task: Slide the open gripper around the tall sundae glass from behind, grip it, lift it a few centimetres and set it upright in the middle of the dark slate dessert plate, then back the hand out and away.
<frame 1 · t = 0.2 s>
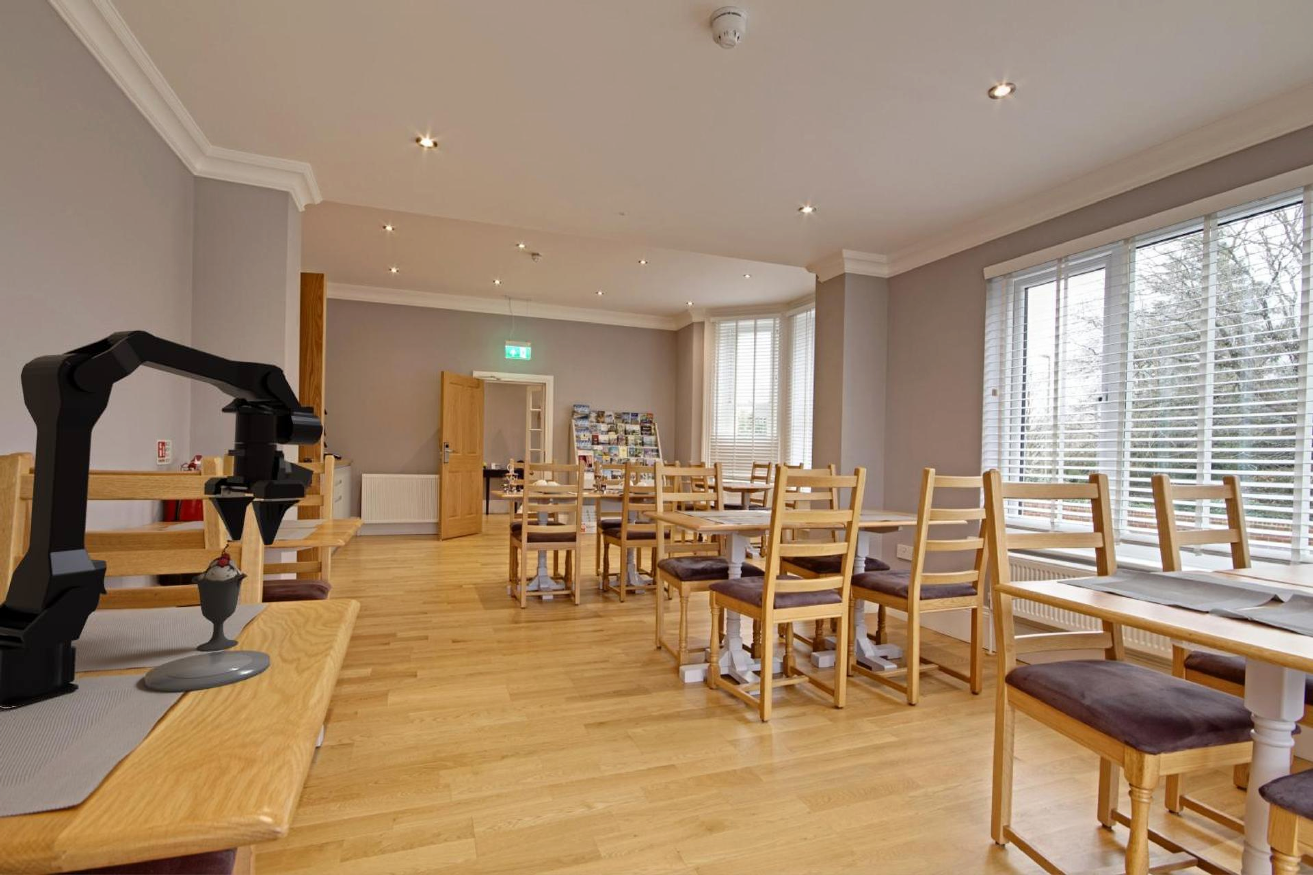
hand: (252, 542, 98), 14 cm above the table, fingers open, 9 cm apart
slate plate: (210, 672, 80), on the table
sundae: (218, 647, 90), on the table
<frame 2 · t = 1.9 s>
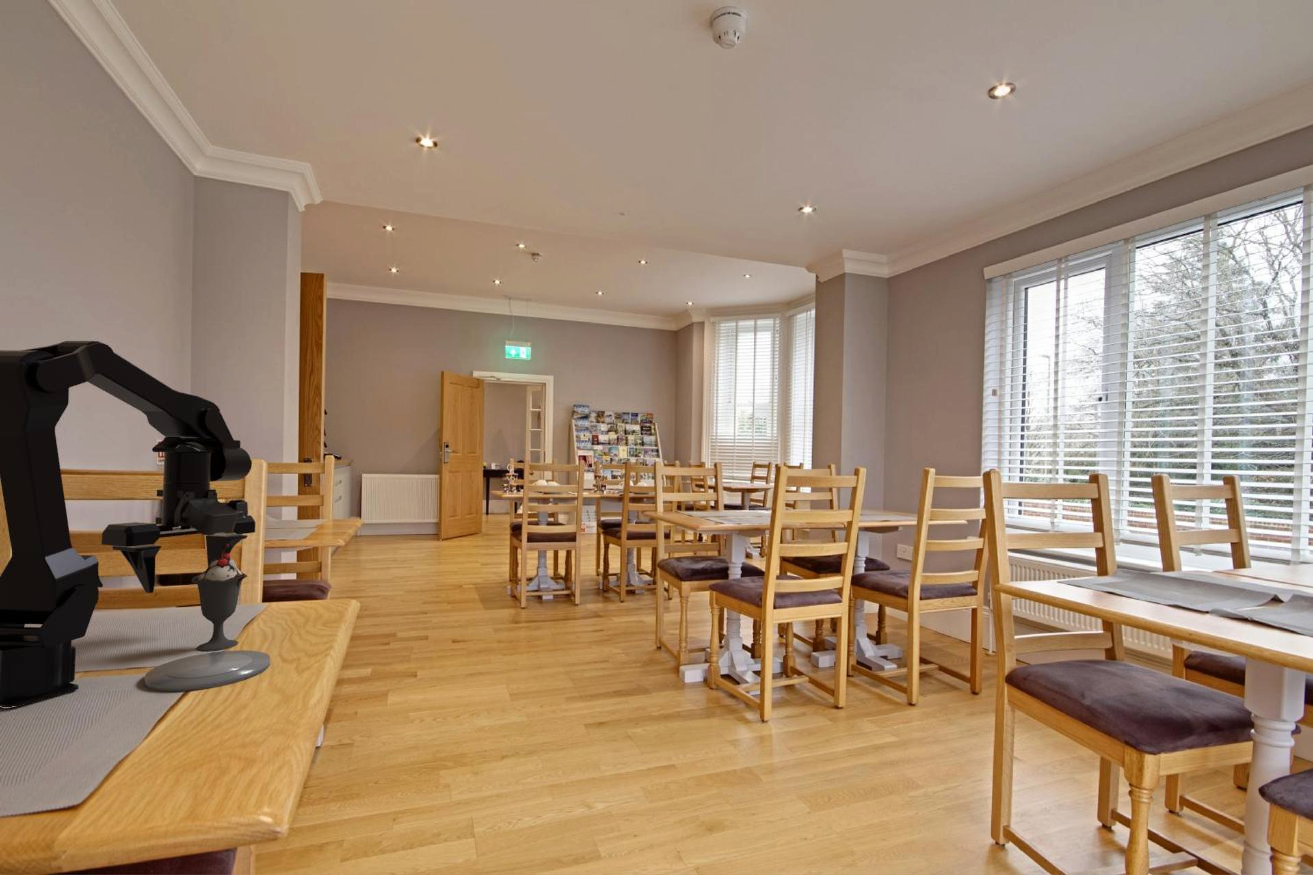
hand: (183, 586, 93), 8 cm above the table, fingers open, 9 cm apart
nothing on the table moved.
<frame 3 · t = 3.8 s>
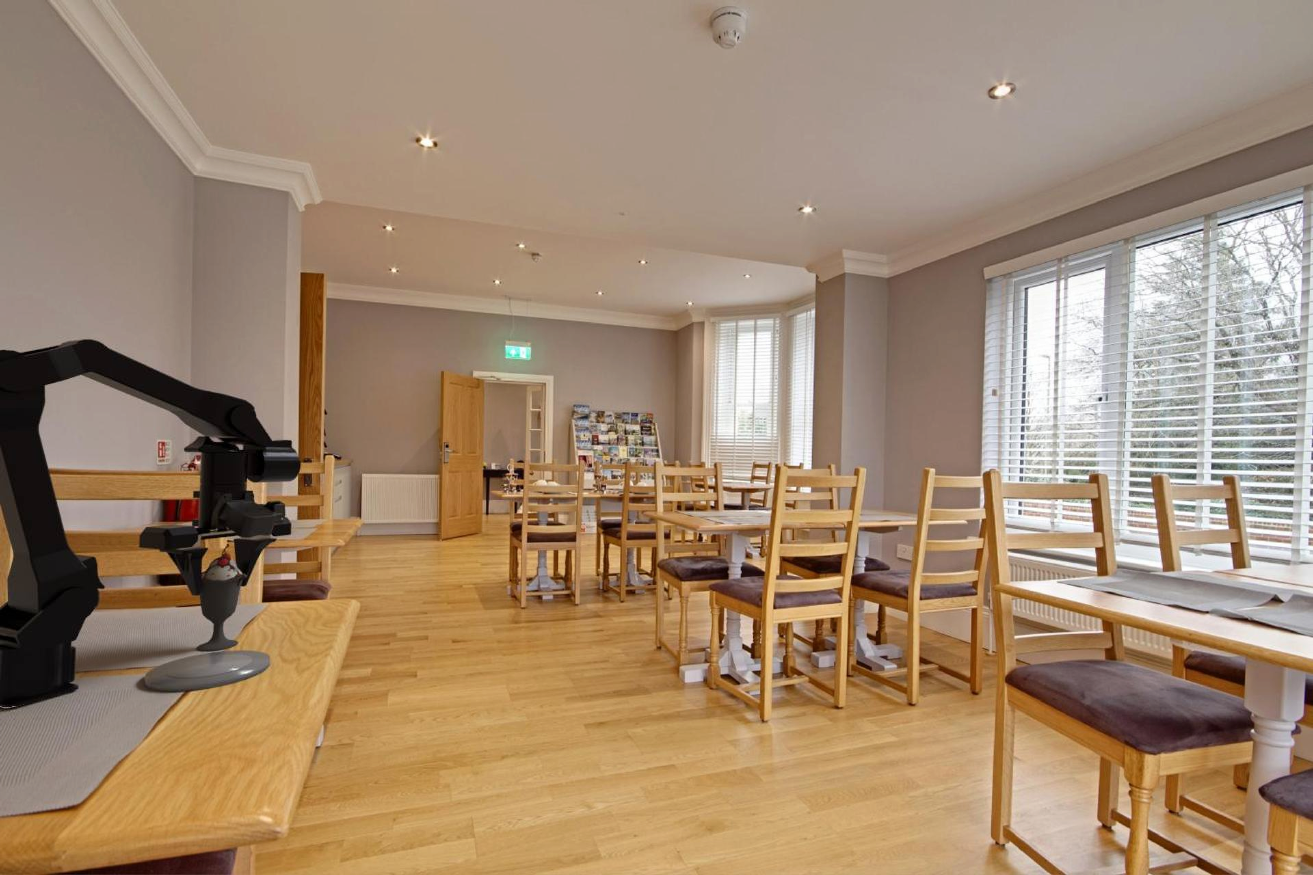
hand: (219, 590, 91), 8 cm above the table, fingers closed on sundae, 6 cm apart
sundae: (218, 647, 90), on the table, touching gripper
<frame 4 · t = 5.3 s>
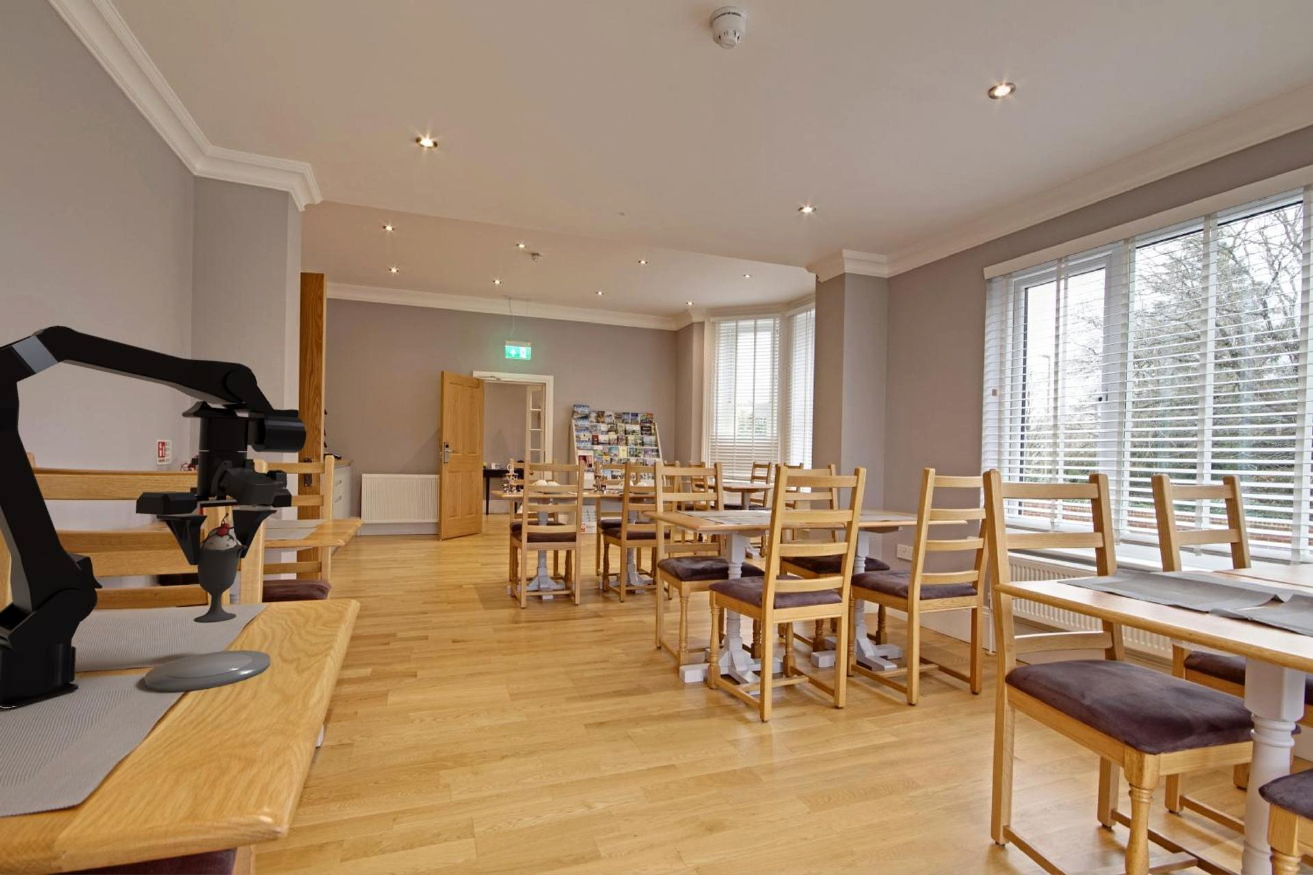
hand: (218, 561, 88), 13 cm above the table, fingers closed on sundae, 6 cm apart
sundae: (215, 619, 88), point 5 cm above the table, touching gripper
when the fingers open (10 cm above the table, at t = 7.1 s): sundae drops 1 cm, resting on slate plate.
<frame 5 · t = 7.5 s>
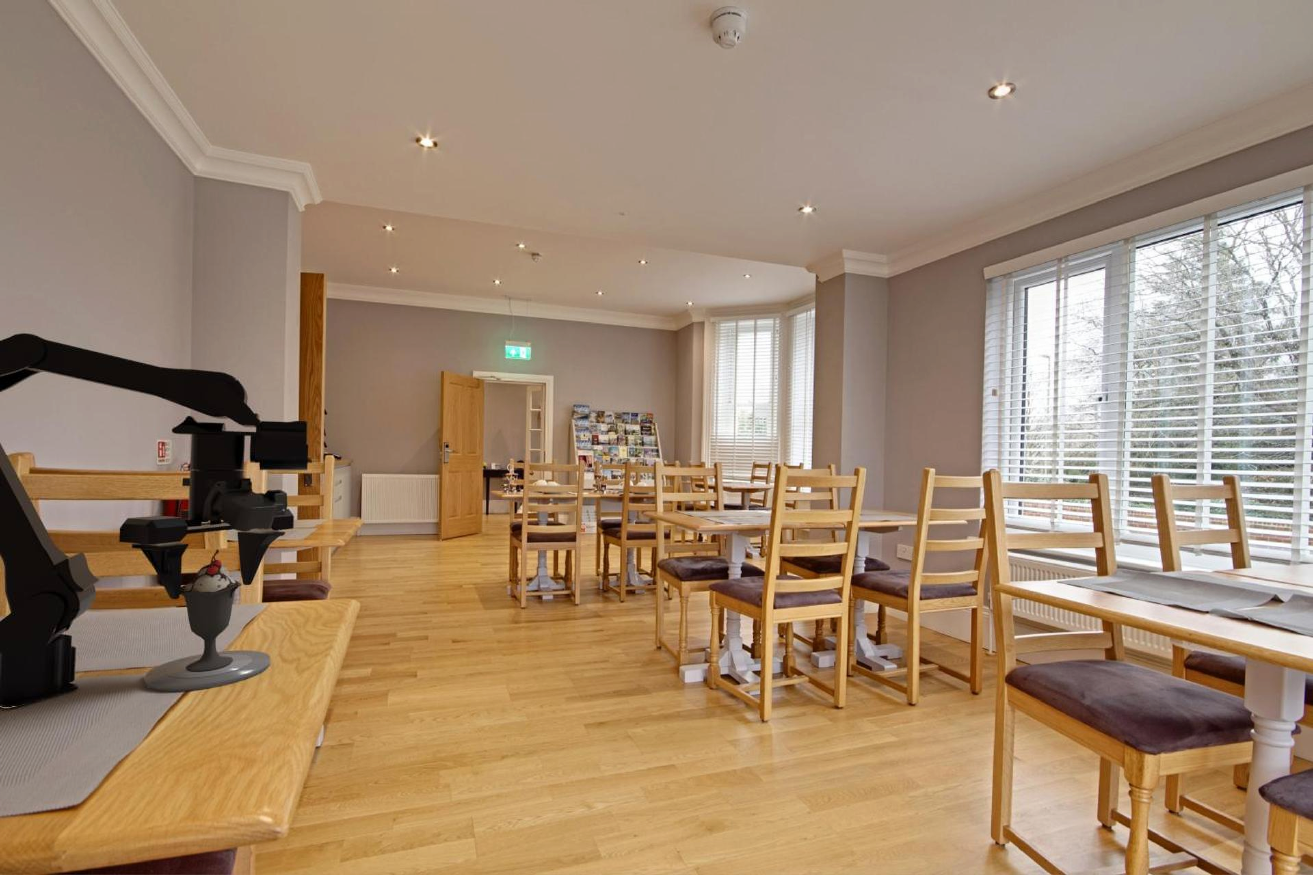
hand: (212, 591, 80), 10 cm above the table, fingers open, 9 cm apart
sundae: (210, 666, 79), point 1 cm above the table, touching slate plate
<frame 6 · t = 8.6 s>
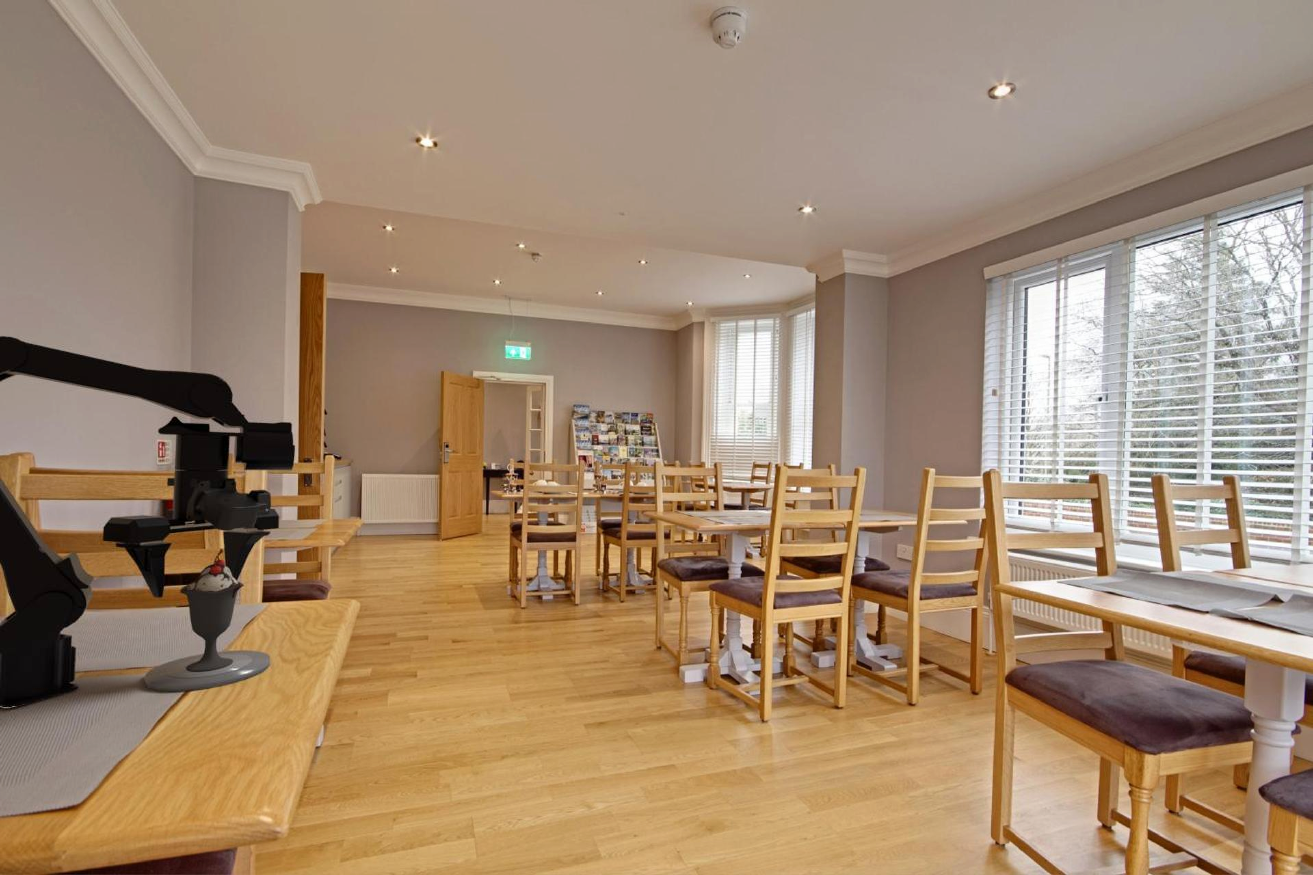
hand: (197, 590, 81), 10 cm above the table, fingers open, 9 cm apart
nothing on the table moved.
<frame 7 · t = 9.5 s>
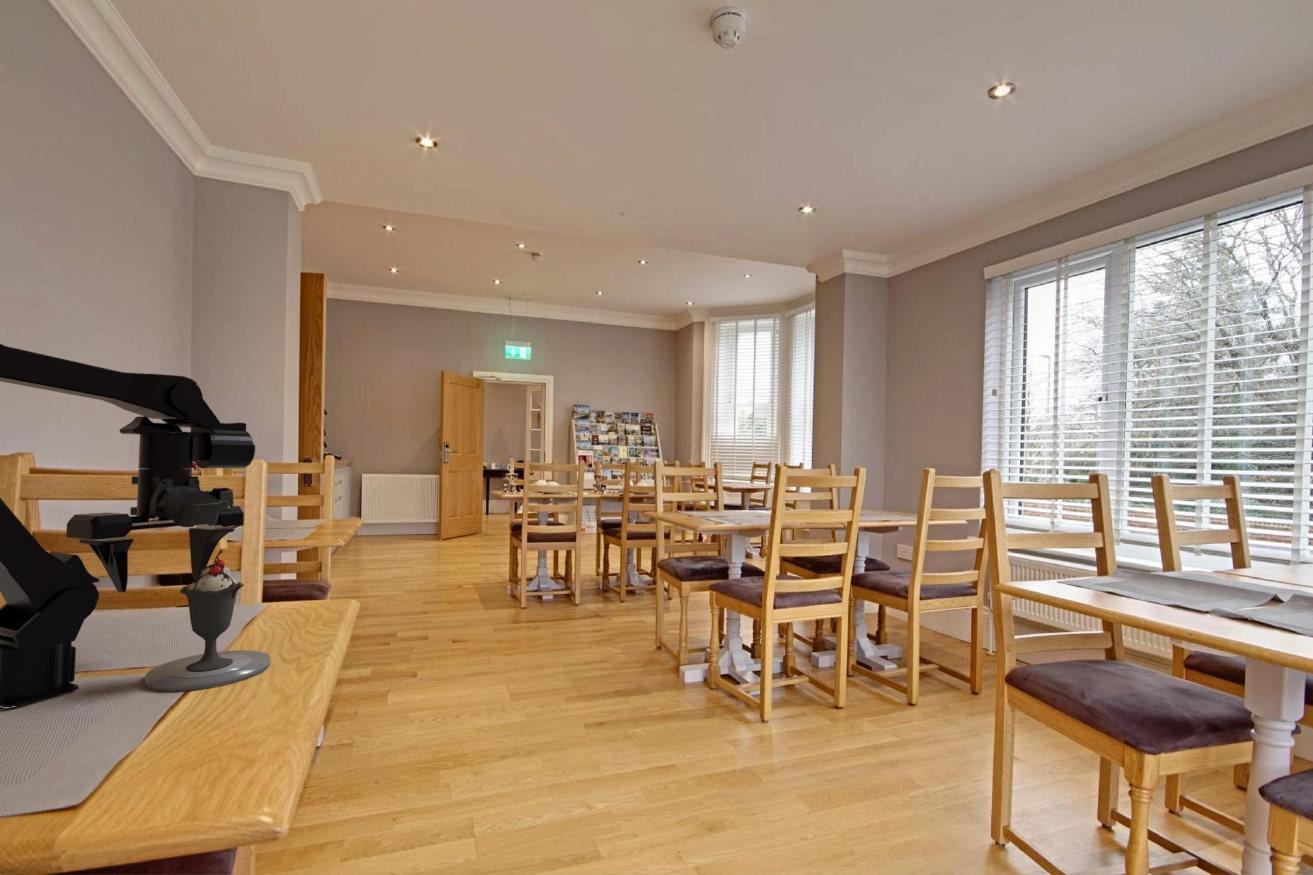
hand: (161, 585, 83), 10 cm above the table, fingers open, 9 cm apart
nothing on the table moved.
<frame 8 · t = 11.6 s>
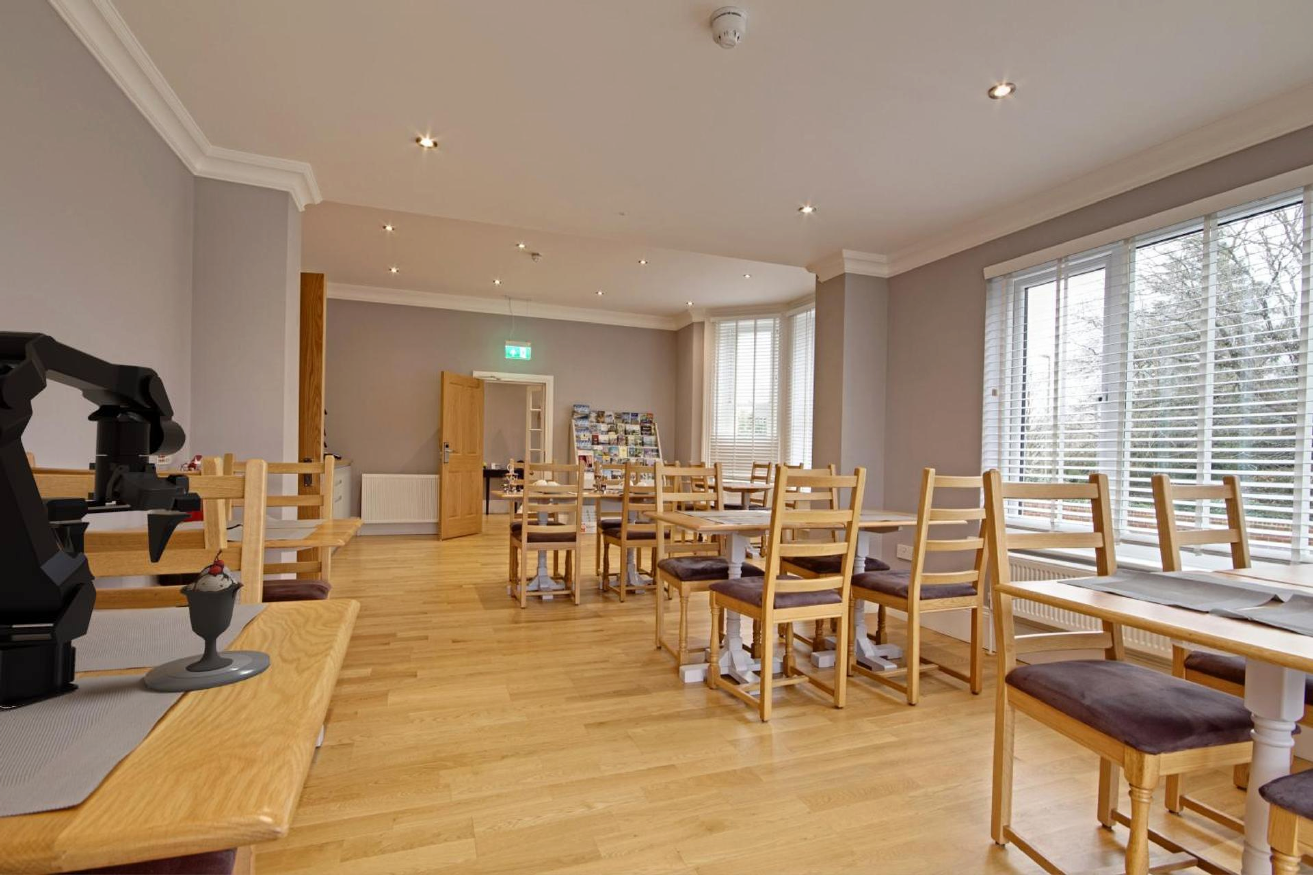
hand: (118, 567, 86), 12 cm above the table, fingers open, 9 cm apart
nothing on the table moved.
at the end: sundae 0.1 cm from the slate plate (horizontally); sundae point 0.7 cm above the table; sundae tilted 0° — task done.
